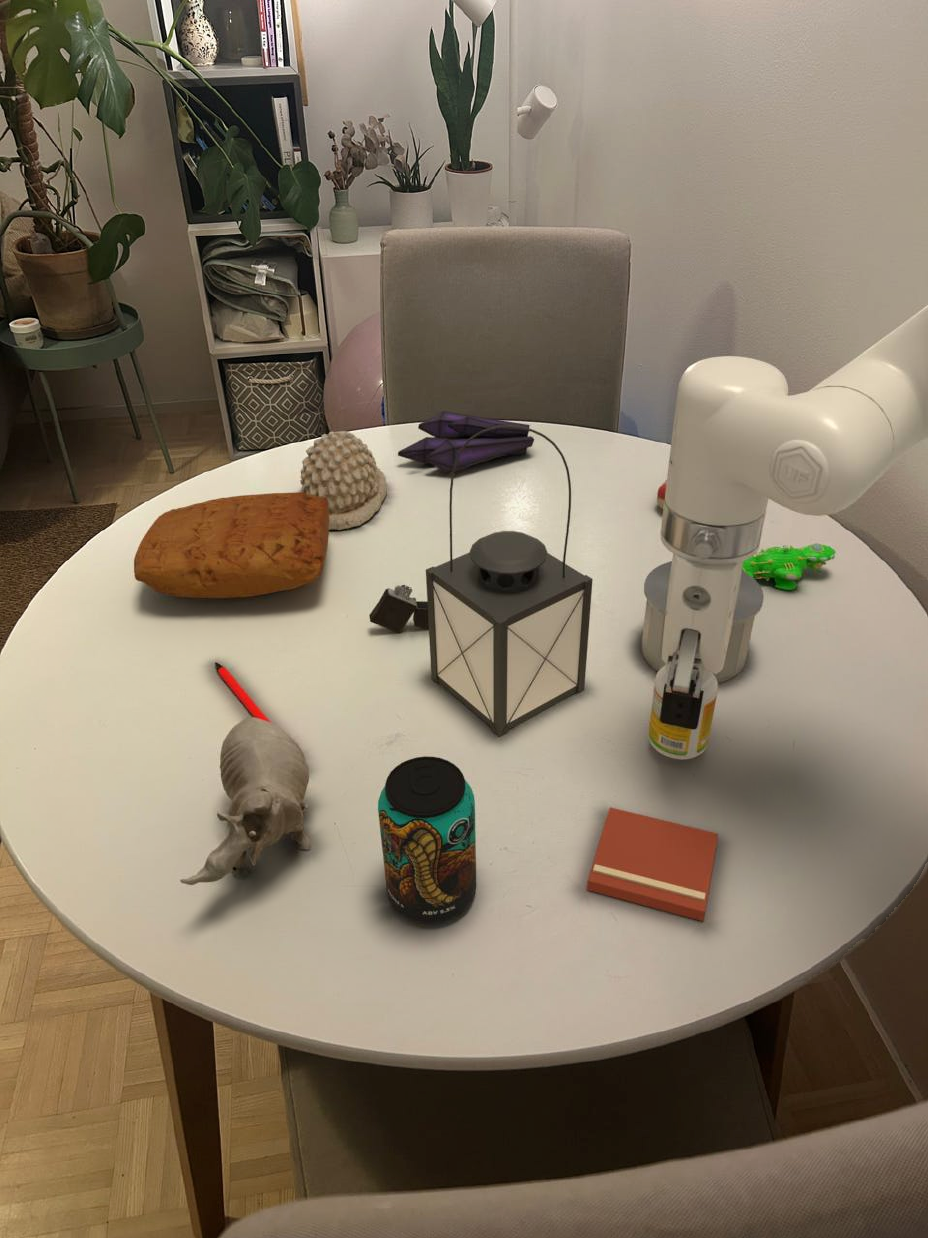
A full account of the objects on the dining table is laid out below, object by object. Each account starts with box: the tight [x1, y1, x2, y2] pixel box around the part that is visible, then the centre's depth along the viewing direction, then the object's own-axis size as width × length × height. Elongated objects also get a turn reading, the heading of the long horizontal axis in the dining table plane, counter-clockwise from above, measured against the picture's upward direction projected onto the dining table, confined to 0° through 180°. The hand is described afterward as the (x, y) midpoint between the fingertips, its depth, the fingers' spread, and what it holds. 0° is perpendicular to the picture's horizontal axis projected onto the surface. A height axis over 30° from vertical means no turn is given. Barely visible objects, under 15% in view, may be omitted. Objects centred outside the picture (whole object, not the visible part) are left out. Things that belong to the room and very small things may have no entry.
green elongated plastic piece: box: [742, 542, 836, 591], centre depth 105 cm, size 7×18×4 cm, turn 99°
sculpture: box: [299, 430, 388, 531], centre depth 121 cm, size 12×17×10 cm
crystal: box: [397, 410, 535, 475], centre depth 132 cm, size 7×12×20 cm
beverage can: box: [377, 755, 478, 924], centre depth 68 cm, size 7×7×12 cm
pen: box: [214, 661, 272, 723], centre depth 89 cm, size 1×19×1 cm, turn 36°
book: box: [586, 807, 719, 922], centre depth 73 cm, size 9×8×2 cm
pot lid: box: [643, 560, 764, 626], centre depth 90 cm, size 12×12×5 cm
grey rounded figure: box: [179, 716, 312, 886], centre depth 74 cm, size 8×14×15 cm
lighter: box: [368, 584, 429, 634], centre depth 99 cm, size 8×2×5 cm
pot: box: [641, 599, 756, 684], centre depth 93 cm, size 11×11×8 cm
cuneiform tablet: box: [133, 491, 330, 599], centre depth 107 cm, size 22×17×8 cm
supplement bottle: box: [648, 650, 719, 760], centre depth 81 cm, size 5×5×10 cm
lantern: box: [425, 425, 594, 737], centre depth 84 cm, size 11×11×28 cm
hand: (684, 700), depth 81 cm, fingers closed on supplement bottle, 5 cm apart
